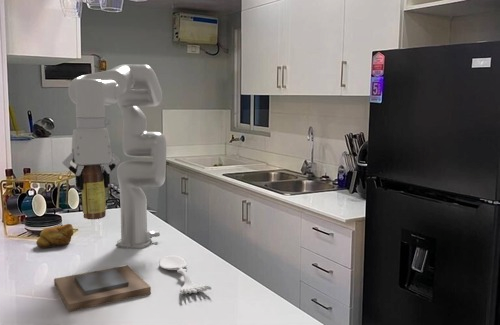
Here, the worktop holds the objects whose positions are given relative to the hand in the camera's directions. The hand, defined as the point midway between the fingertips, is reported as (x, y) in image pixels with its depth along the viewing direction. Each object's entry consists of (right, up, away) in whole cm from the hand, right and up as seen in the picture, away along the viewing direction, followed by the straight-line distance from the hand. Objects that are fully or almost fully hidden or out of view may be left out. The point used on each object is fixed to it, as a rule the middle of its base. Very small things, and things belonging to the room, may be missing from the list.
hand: (93, 187), depth 132 cm
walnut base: (+1, -30, +3) cm, 30 cm away
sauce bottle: (0, -9, +1) cm, 9 cm away
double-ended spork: (+23, -29, +12) cm, 39 cm away
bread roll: (-29, -24, +43) cm, 57 cm away
